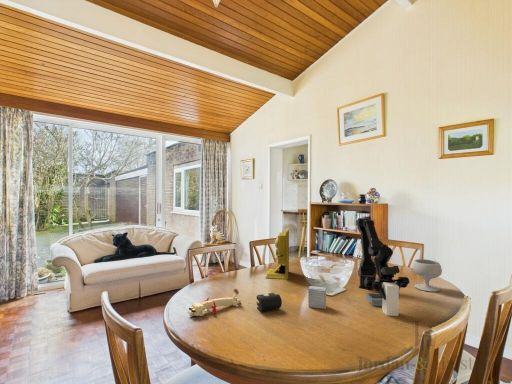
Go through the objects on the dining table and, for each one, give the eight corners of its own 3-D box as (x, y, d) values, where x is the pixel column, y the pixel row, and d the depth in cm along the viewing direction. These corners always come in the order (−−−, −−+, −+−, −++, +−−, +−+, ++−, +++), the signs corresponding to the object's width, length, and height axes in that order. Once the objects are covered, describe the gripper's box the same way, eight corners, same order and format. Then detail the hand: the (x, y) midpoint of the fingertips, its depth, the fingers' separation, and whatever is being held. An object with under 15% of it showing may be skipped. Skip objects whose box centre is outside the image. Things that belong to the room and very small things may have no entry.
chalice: (414, 290, 153) (414, 263, 153) (410, 283, 166) (411, 257, 166) (444, 294, 148) (444, 266, 148) (438, 286, 161) (438, 260, 161)
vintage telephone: (269, 267, 198) (269, 225, 198) (289, 268, 196) (289, 225, 196) (264, 281, 167) (264, 231, 167) (287, 283, 165) (288, 232, 165)
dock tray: (366, 298, 142) (366, 292, 142) (383, 299, 141) (384, 293, 141) (372, 305, 133) (372, 299, 133) (391, 306, 132) (391, 300, 132)
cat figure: (232, 303, 139) (184, 311, 124) (233, 285, 139) (185, 291, 124) (243, 310, 131) (193, 320, 116) (244, 291, 131) (195, 299, 116)
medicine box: (326, 305, 133) (326, 287, 133) (325, 309, 128) (325, 290, 128) (309, 303, 135) (309, 285, 135) (308, 307, 131) (308, 288, 131)
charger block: (382, 310, 127) (382, 282, 127) (393, 311, 127) (394, 282, 127) (386, 315, 123) (387, 285, 122) (398, 316, 122) (398, 286, 122)
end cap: (261, 314, 123) (261, 299, 123) (255, 308, 130) (255, 293, 130) (281, 311, 127) (282, 296, 127) (275, 305, 133) (275, 291, 133)
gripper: (366, 258, 129) (374, 290, 118) (408, 259, 128) (420, 292, 117) (360, 270, 137) (368, 302, 126) (400, 271, 136) (411, 303, 125)
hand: (391, 299), depth 123 cm, fingers closed on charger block, 5 cm apart
